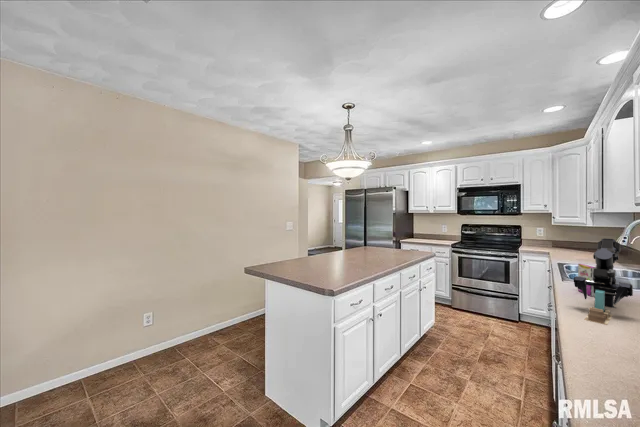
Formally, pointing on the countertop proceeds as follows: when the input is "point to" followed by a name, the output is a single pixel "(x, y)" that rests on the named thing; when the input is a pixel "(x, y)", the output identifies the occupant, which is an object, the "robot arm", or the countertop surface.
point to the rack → (606, 312)
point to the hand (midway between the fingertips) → (599, 301)
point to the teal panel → (600, 299)
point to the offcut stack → (596, 315)
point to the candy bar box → (587, 276)
